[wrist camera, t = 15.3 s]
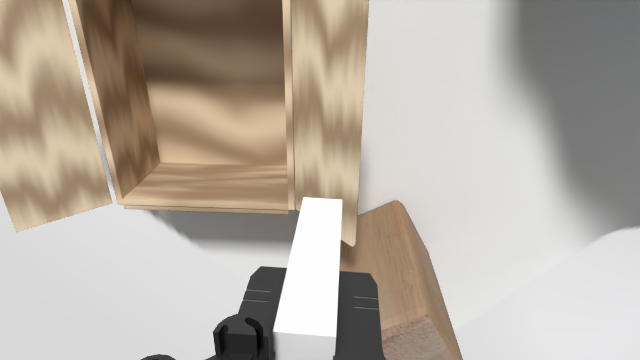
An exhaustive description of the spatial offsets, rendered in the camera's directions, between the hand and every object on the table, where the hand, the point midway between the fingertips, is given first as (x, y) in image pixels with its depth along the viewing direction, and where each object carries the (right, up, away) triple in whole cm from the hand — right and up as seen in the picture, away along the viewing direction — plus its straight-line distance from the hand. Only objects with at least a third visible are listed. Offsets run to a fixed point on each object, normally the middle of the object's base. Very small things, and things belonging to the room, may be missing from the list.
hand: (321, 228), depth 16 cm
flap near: (-3, +8, +20) cm, 22 cm away
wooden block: (+8, -6, +37) cm, 39 cm away
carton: (-11, +13, +29) cm, 34 cm away
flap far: (-21, +8, +21) cm, 30 cm away
